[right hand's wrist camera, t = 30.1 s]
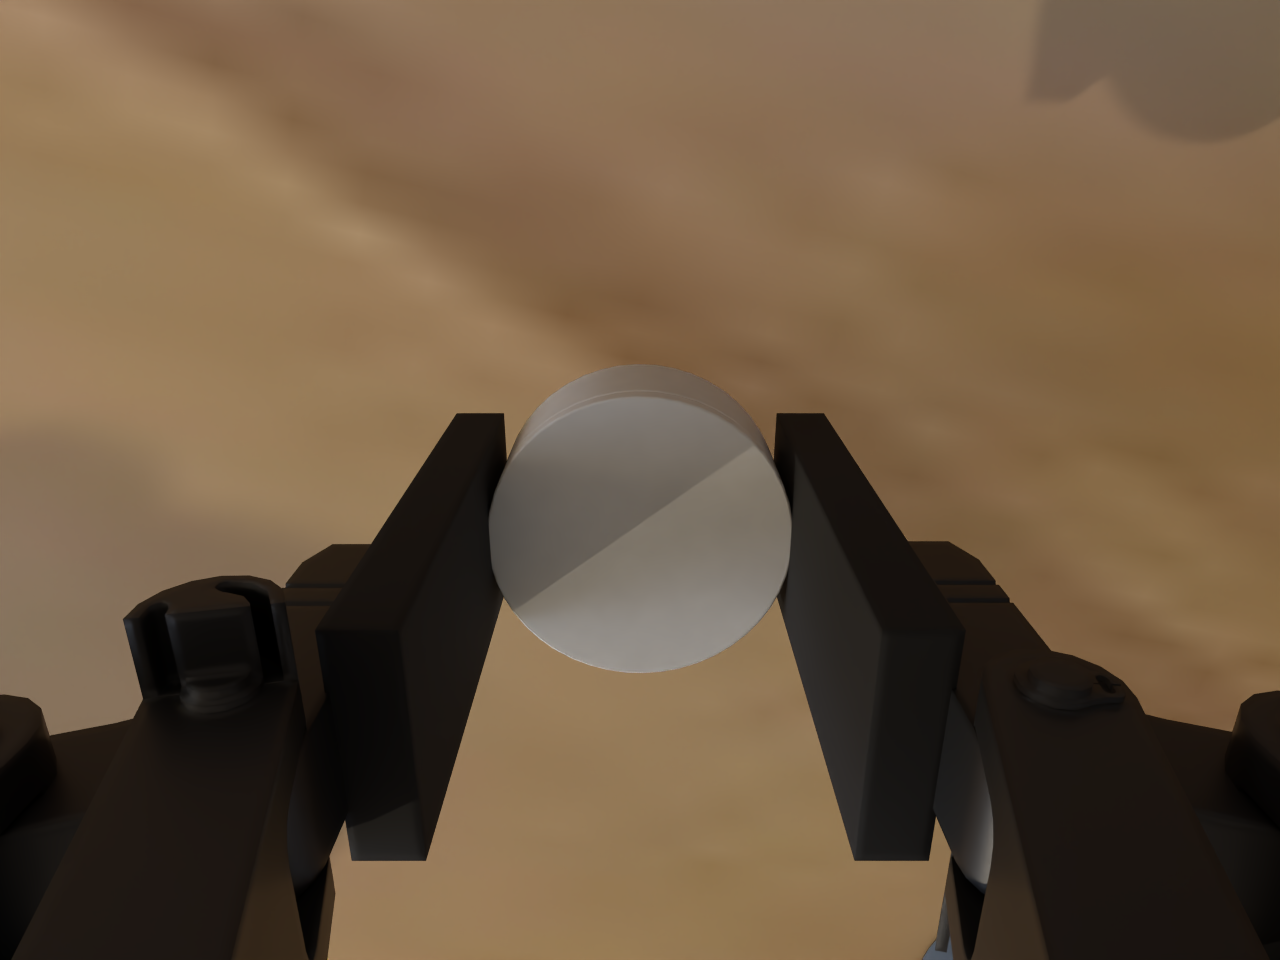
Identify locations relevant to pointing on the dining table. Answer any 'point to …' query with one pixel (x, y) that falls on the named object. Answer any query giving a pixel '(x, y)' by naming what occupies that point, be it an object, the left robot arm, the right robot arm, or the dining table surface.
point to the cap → (640, 521)
